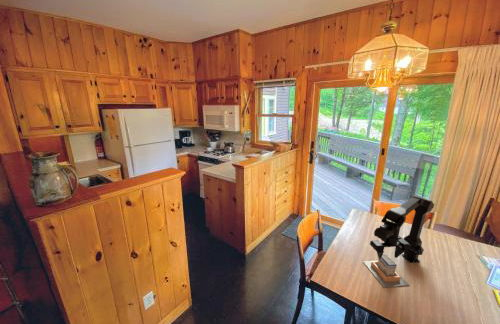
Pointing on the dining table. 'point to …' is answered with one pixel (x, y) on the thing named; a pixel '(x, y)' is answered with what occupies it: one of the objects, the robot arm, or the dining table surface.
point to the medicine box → (387, 266)
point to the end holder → (381, 277)
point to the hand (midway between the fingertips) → (387, 257)
